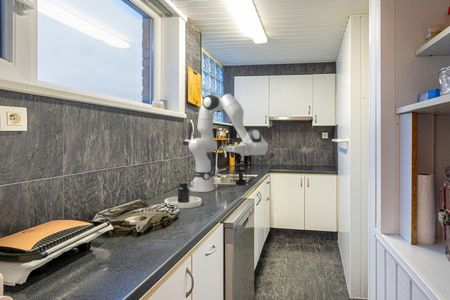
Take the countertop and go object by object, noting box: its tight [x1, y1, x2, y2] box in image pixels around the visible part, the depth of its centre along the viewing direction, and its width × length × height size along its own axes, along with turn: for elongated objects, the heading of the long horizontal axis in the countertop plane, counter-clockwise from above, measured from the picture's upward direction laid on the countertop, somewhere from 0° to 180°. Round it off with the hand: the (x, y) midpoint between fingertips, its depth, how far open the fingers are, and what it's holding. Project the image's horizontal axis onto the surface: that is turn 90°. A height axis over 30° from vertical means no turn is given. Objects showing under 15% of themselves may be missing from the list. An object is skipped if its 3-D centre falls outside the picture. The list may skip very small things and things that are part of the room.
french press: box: [232, 156, 247, 186], centre depth 274 cm, size 12×9×23 cm
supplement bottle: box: [177, 182, 190, 203], centre depth 193 cm, size 7×7×12 cm
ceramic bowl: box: [164, 195, 203, 210], centre depth 193 cm, size 21×21×3 cm
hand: (222, 149), depth 207 cm, fingers open, 8 cm apart
